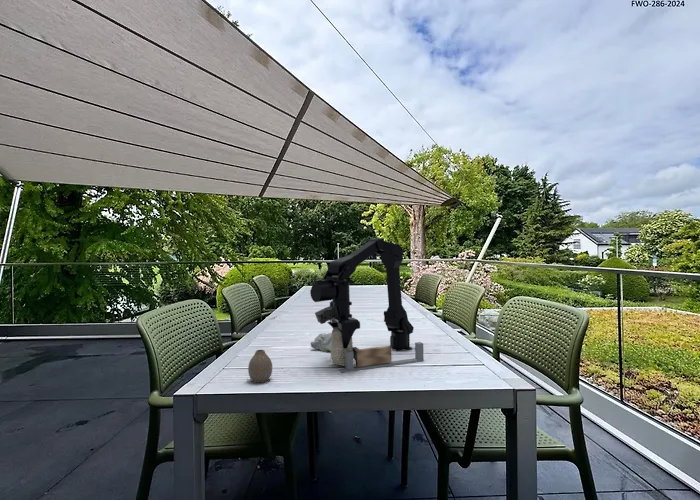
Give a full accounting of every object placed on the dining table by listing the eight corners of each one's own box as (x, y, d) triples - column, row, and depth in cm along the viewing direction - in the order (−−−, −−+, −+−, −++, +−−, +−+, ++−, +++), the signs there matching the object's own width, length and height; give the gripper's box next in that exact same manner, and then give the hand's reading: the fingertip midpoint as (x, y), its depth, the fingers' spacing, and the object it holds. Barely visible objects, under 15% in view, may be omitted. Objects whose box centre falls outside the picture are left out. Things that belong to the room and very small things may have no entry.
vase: (250, 376, 113) (250, 347, 112) (273, 375, 113) (273, 347, 113) (246, 385, 106) (245, 354, 106) (270, 384, 106) (270, 353, 106)
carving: (357, 364, 122) (356, 328, 122) (337, 369, 118) (337, 331, 118) (346, 359, 127) (345, 324, 127) (327, 363, 123) (326, 327, 123)
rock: (356, 350, 140) (356, 332, 140) (348, 355, 134) (348, 336, 134) (320, 346, 147) (319, 329, 147) (310, 351, 140) (310, 333, 140)
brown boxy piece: (382, 356, 128) (382, 342, 128) (391, 362, 122) (391, 346, 122) (349, 361, 123) (349, 345, 123) (357, 366, 117) (357, 351, 117)
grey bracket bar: (420, 359, 128) (419, 341, 128) (423, 361, 125) (423, 343, 125) (338, 370, 117) (338, 351, 117) (341, 372, 115) (341, 353, 115)
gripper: (309, 296, 128) (310, 341, 129) (325, 304, 111) (326, 356, 111) (340, 294, 132) (341, 338, 133) (360, 301, 115) (361, 352, 115)
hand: (341, 345), depth 123 cm, fingers closed on carving, 6 cm apart
